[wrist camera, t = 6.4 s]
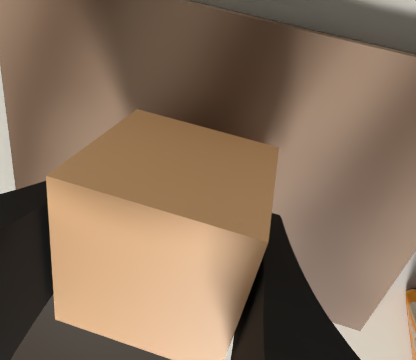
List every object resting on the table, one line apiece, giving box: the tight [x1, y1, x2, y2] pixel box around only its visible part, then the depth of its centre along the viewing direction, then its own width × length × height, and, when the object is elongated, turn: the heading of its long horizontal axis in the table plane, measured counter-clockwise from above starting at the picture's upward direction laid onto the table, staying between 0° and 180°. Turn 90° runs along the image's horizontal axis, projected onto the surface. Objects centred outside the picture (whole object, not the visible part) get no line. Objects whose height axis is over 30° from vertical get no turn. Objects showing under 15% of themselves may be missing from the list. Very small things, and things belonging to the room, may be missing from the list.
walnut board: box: [0, 0, 416, 331], centre depth 14 cm, size 18×12×1 cm, turn 80°
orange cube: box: [46, 109, 279, 360], centre depth 11 cm, size 5×5×5 cm
